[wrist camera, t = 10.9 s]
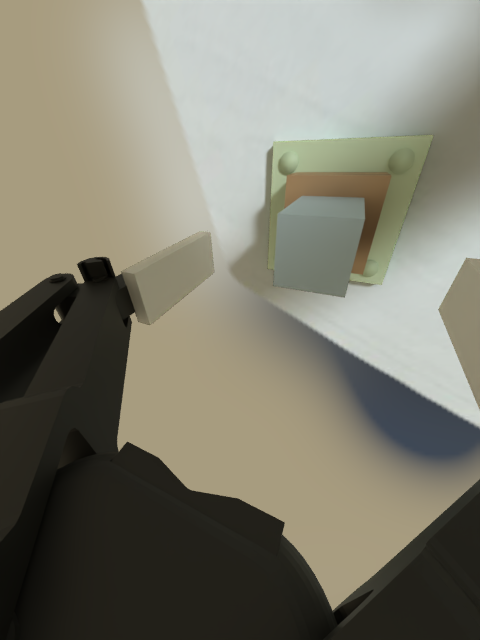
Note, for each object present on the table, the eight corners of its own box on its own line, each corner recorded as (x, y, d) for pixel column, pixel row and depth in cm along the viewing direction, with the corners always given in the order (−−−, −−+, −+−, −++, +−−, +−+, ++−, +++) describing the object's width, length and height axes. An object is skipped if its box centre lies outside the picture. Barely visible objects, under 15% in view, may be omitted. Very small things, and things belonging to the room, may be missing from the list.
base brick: (296, 172, 24) (286, 175, 21) (387, 172, 21) (391, 175, 18) (288, 251, 28) (279, 263, 25) (362, 260, 26) (362, 274, 23)
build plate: (276, 141, 24) (272, 141, 23) (431, 135, 19) (434, 134, 19) (269, 266, 31) (266, 269, 30) (381, 281, 27) (381, 285, 26)
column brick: (302, 195, 21) (277, 213, 15) (364, 197, 19) (364, 218, 13) (295, 251, 24) (273, 285, 18) (349, 257, 22) (344, 297, 16)
